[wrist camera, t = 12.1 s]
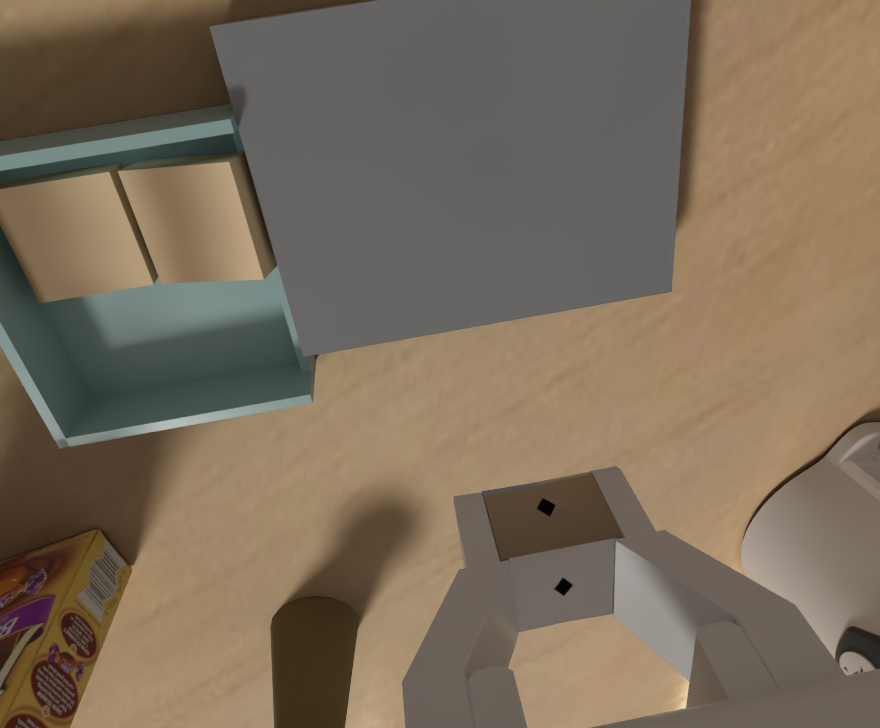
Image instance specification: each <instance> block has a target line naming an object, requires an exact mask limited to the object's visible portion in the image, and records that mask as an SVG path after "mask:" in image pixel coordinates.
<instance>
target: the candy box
mask: <svg viewBox="0 0 880 728" xmlns="http://www.w3.org/2000/svg"><path fill="white" fill-rule="evenodd" d="M131 572H132V569H131V567H130V566H129V565H128V564H127V562H126V561H125V560H124V559H123V558H122V557H121V555H120V554H119V553H118V552H117V550H116V549H115V548H114V547H113V546H112V545H111V543H110V542H109V541H108V540H107V539H106V538H105V536H104V535H103V534H102V533H101V531H100V530H99V529H94V530H91V531H88V532H86V533H83V534H81V535H78V536H75V537H72V538H69V539H66V540H63V541H60V542H57V543H54V544H52V545H48V546H45V547H42V548H39V549H36V550H33V551H30V552H27V553H24V554H21V555H18V556H15V557H11V558H8V559H5V560H2V561H0V728H70V726H71V723H72V720H73V718H74V715H75V713H76V711H77V708H78V705H79V703H80V700H81V698H82V695H83V693H84V690H85V688H86V686H87V683H88V681H89V679H90V676H91V674H92V671H93V668H94V666H95V663H96V661H97V658H98V655H99V653H100V651H101V648H102V646H103V643H104V641H105V638H106V635H107V633H108V630H109V628H110V625H111V623H112V621H113V618H114V615H115V613H116V610H117V607H118V605H119V603H120V600H121V598H122V595H123V592H124V590H125V587H126V585H127V583H128V580H129V577H130V575H131Z"/></svg>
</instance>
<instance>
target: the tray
mask: <svg viewBox="0 0 880 728" xmlns="http://www.w3.org/2000/svg"><path fill="white" fill-rule="evenodd" d="M241 151H245V150H244V147H243V143H242V140H241V136H240V133H239V129H238V126H237V122H236V119H235V115H234V112H233V108H232V105H231V104H227V105H221V106H215V107H208V108H202V109H196V110H190V111H184V112H177V113H171V114H165V115H159V116H152V117H146V118H140V119H134V120H128V121H121V122H115V123H109V124H103V125H96V126H90V127H84V128H78V129H72V130H65V131H59V132H53V133H47V134H41V135H34V136H28V137H22V138H16V139H9V140H3V141H0V182H1V181H5V180H12V179H18V178H24V177H31V176H37V175H44V174H50V173H56V172H63V171H69V170H75V169H82V168H88V167H94V166H101V165H107V164H113V163H120V162H121V164H122V166H123V168H125V167H128V166H130V165H132V164H134V163H136V162H138V161H140V160H150V159H162V158H173V157H184V156H196V155H207V154H218V153H230V152H241ZM0 346H1V348H2V350H3V351H4V353H5V355H6V357H7V358H8V360H9V362H10V364H11V365H12V367H13V369H14V370H15V372H16V374H17V376H18V377H19V379H20V381H21V383H22V384H23V386H24V388H25V390H26V391H27V393H28V395H29V397H30V398H31V400H32V402H33V404H34V405H35V407H36V409H37V410H38V412H39V414H40V416H41V417H42V419H43V421H44V423H45V424H46V426H47V428H48V430H49V431H50V433H51V435H52V437H53V438H54V440H55V442H56V443H57V445H58V447H59V449H61V448H67V447H72V446H78V445H83V444H89V443H94V442H100V441H105V440H111V439H116V438H122V437H127V436H133V435H139V434H144V433H150V432H155V431H161V430H166V429H172V428H177V427H183V426H188V425H194V424H199V423H205V422H211V421H216V420H222V419H227V418H233V417H238V416H244V415H249V414H255V413H260V412H266V411H271V410H277V409H283V408H288V407H294V406H299V405H305V404H310V403H313V393H314V380H315V367H316V359H315V355H313V356H307V357H304V356H303V353H302V349H301V346H300V342H299V339H298V335H297V332H296V328H295V325H294V321H293V318H292V314H291V311H290V307H289V304H288V300H287V297H286V293H285V290H284V286H283V283H282V279H281V276H280V272H279V269H278V265H277V266H276V267H275V269H274V270H273V271H272V272H271V273H270V274H269V275H268V276H267V277H266V278H265V279H264V280H241V281H215V282H189V283H163V284H161V281H160V279H159V277H158V279H157V280H156V282H155V283H154V285H148V286H142V287H136V288H130V289H124V290H118V291H112V292H106V293H100V294H94V295H88V296H81V297H75V298H69V299H63V300H57V301H51V302H45V303H40V302H39V300H38V299H37V297H36V295H35V293H34V291H33V289H32V287H31V285H30V283H29V281H28V279H27V277H26V275H25V273H24V271H23V269H22V267H21V265H20V263H19V261H18V259H17V257H16V255H15V253H14V251H13V249H12V247H11V246H10V244H9V242H8V240H7V238H6V236H5V234H4V232H3V230H2V228H1V226H0Z"/></svg>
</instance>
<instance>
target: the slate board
mask: <svg viewBox="0 0 880 728" xmlns="http://www.w3.org/2000/svg"><path fill="white" fill-rule="evenodd" d="M690 11H691V0H362V1H355V2H349V3H342V4H336V5H329V6H323V7H317V8H310V9H304V10H297V11H291V12H285V13H278V14H272V15H265V16H259V17H252V18H246V19H240V20H233V21H227V22H222V23H219V24H215V25H212V26H209V28H210V31H211V35H212V38H213V42H214V45H215V49H216V52H217V56H218V59H219V63H220V66H221V70H222V73H223V77H224V80H225V84H226V87H227V91H228V94H229V98H230V101H231V105H232V108H233V112H234V115H235V119H236V122H237V126H238V129H239V133H240V136H241V140H242V143H243V147H244V150H245V154H246V157H247V161H248V164H249V168H250V171H251V175H252V178H253V182H254V185H255V189H256V192H257V196H258V199H259V203H260V206H261V210H262V213H263V217H264V220H265V224H266V227H267V231H268V234H269V238H270V241H271V245H272V248H273V252H274V255H275V259H276V262H277V265H278V269H279V272H280V276H281V279H282V283H283V286H284V290H285V293H286V297H287V300H288V304H289V307H290V311H291V314H292V318H293V321H294V325H295V328H296V332H297V335H298V339H299V342H300V346H301V349H302V353H303V356H304V357H307V356H313V355H318V354H324V353H330V352H335V351H341V350H346V349H352V348H358V347H363V346H369V345H375V344H380V343H386V342H391V341H397V340H403V339H408V338H414V337H420V336H425V335H431V334H437V333H442V332H448V331H453V330H459V329H465V328H470V327H476V326H482V325H487V324H493V323H499V322H504V321H510V320H515V319H521V318H527V317H532V316H538V315H544V314H549V313H555V312H561V311H566V310H572V309H577V308H583V307H589V306H594V305H600V304H606V303H611V302H617V301H622V300H628V299H634V298H639V297H645V296H651V295H656V294H662V293H668V292H671V291H672V276H673V261H674V246H675V232H676V217H677V202H678V188H679V173H680V158H681V144H682V129H683V114H684V99H685V85H686V70H687V55H688V41H689V26H690Z"/></svg>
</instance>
